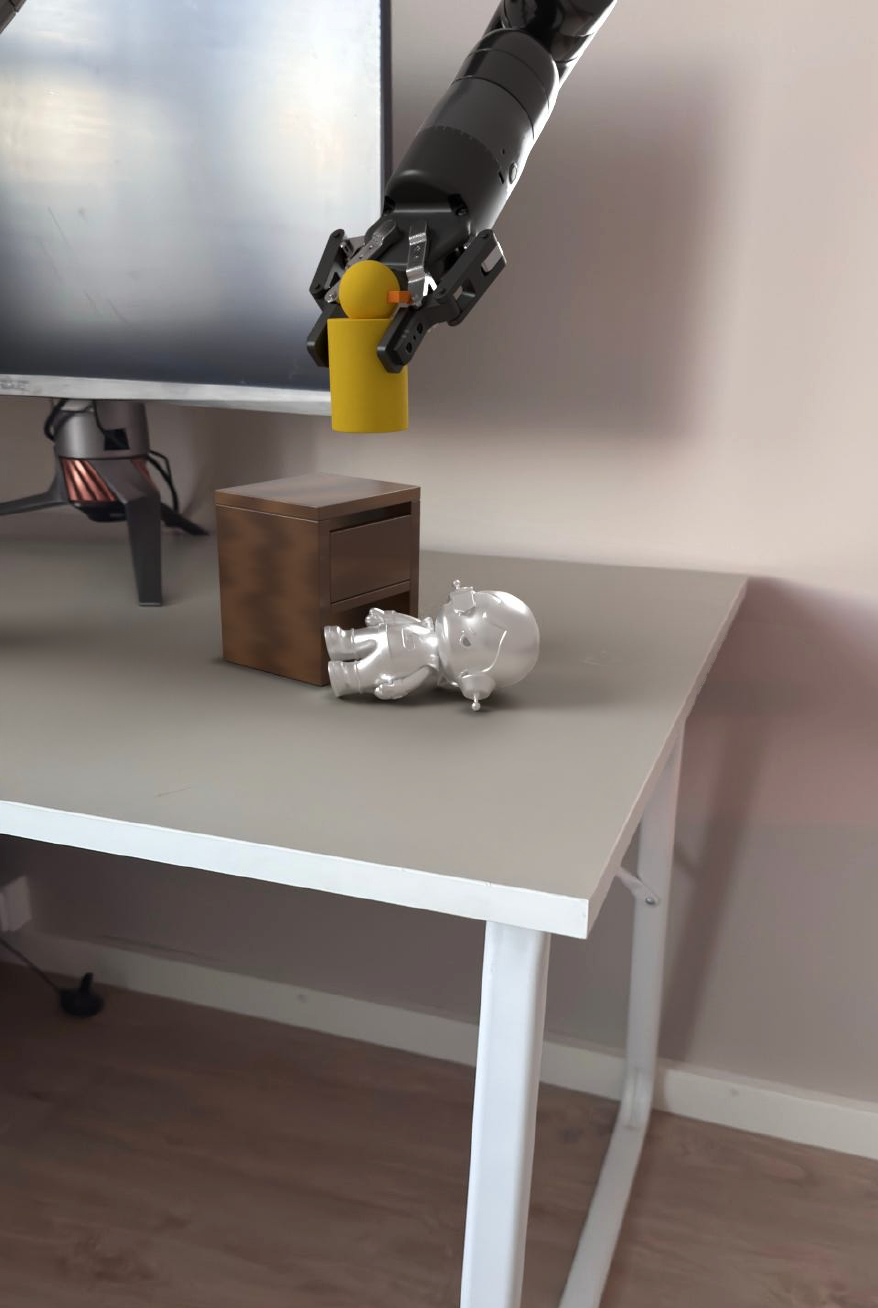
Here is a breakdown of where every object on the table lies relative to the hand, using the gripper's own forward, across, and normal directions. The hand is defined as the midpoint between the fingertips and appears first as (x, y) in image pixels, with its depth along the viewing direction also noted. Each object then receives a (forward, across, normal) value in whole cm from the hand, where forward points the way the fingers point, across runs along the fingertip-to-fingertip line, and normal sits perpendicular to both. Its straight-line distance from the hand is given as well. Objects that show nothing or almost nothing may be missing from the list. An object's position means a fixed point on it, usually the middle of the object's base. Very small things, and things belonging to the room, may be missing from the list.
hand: (351, 360), depth 77 cm
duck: (+2, 0, +4) cm, 5 cm away
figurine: (+14, +5, +18) cm, 23 cm away
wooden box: (+13, -7, +19) cm, 24 cm away
